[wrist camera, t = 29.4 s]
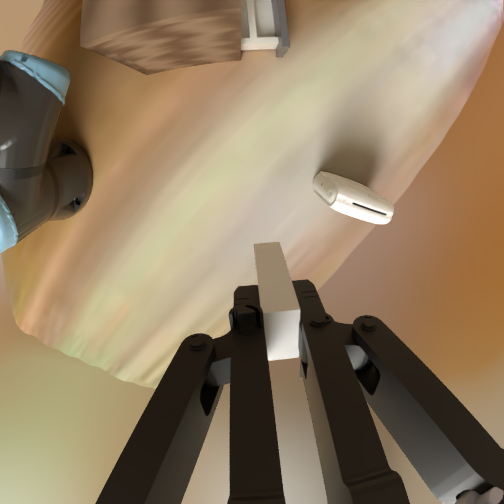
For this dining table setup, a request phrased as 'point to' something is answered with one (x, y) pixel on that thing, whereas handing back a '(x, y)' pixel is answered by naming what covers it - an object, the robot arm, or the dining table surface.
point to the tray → (264, 26)
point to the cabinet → (162, 32)
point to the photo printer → (352, 198)
